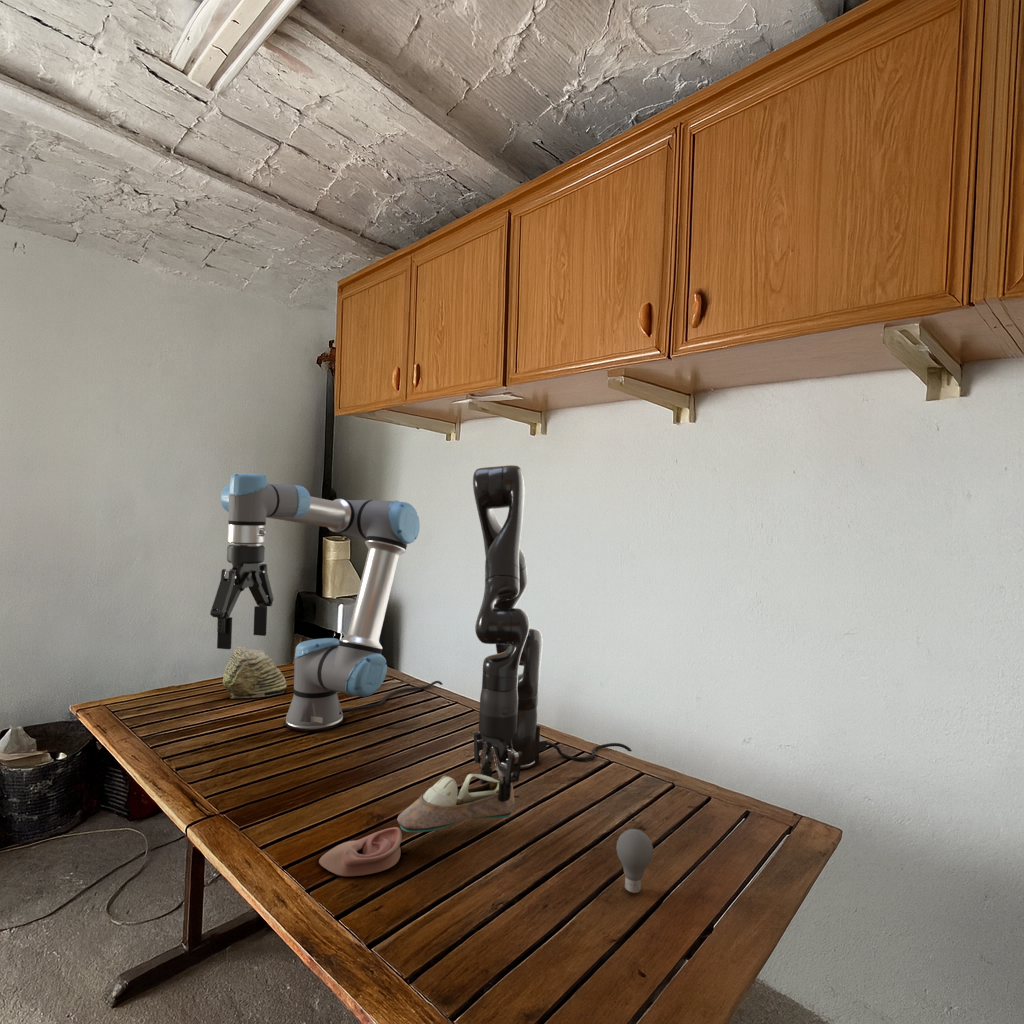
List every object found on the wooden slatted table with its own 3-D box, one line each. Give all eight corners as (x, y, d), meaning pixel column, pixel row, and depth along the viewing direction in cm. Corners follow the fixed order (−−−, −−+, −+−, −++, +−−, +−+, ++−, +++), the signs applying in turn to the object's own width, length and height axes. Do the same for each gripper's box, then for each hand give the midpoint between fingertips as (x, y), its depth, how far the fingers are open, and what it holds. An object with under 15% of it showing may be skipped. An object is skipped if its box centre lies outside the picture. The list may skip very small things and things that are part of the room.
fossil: (218, 695, 195) (220, 647, 195) (278, 685, 208) (279, 640, 207) (228, 703, 189) (230, 653, 188) (289, 692, 201) (290, 645, 201)
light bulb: (610, 879, 108) (613, 822, 108) (644, 879, 109) (647, 822, 109) (619, 902, 102) (622, 840, 102) (655, 901, 103) (658, 840, 103)
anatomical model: (310, 847, 107) (342, 815, 118) (309, 871, 107) (341, 836, 118) (384, 860, 104) (409, 825, 116) (383, 884, 104) (408, 847, 116)
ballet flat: (387, 819, 117) (393, 775, 117) (496, 800, 131) (501, 760, 132) (407, 841, 110) (413, 793, 111) (520, 818, 125) (525, 775, 125)
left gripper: (228, 549, 125) (224, 656, 125) (290, 541, 149) (287, 631, 150) (193, 547, 126) (189, 653, 126) (261, 540, 151) (258, 629, 151)
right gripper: (535, 717, 121) (531, 804, 121) (494, 696, 133) (490, 776, 133) (503, 723, 117) (499, 814, 117) (463, 701, 128) (459, 783, 129)
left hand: (242, 641), depth 138 cm, fingers open, 13 cm apart
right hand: (494, 793), depth 125 cm, fingers closed on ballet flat, 6 cm apart
